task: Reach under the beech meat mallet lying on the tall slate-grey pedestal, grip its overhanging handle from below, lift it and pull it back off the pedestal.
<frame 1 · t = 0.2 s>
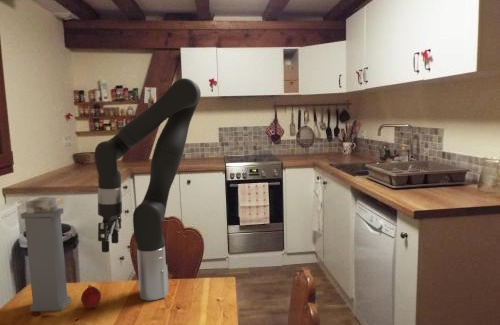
hand: (110, 247, 123), 17 cm above the table, tool pointing down, fingers open, 8 cm apart
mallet: (52, 206, 121), point 32 cm above the table, touching stand
onion: (91, 308, 118), on the table
stand: (51, 306, 120), on the table
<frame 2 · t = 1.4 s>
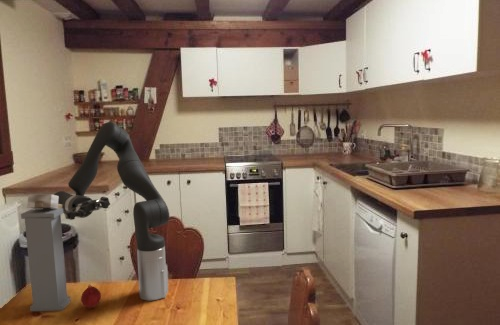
hand: (95, 209, 116), 32 cm above the table, tool horizontal, fingers open, 7 cm apart
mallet: (51, 209, 121), point 31 cm above the table, tilted 19°, touching stand
everything else where it was.
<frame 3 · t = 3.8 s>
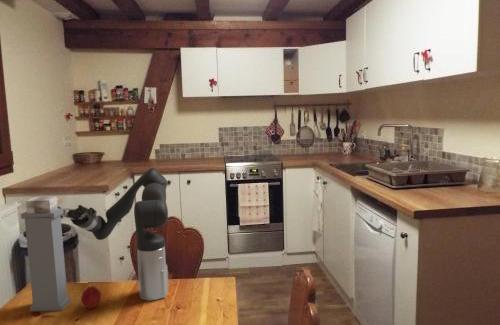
hand: (67, 207, 132), 29 cm above the table, tool pointing upward, fingers open, 8 cm apart
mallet: (51, 206, 121), point 32 cm above the table, touching stand
everything else where it was.
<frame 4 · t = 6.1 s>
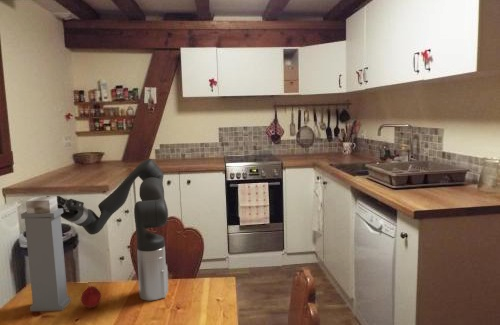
hand: (52, 198, 121), 34 cm above the table, tool pointing upward, fingers open, 3 cm apart
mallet: (51, 206, 121), point 32 cm above the table, touching gripper, stand
everything else where it was.
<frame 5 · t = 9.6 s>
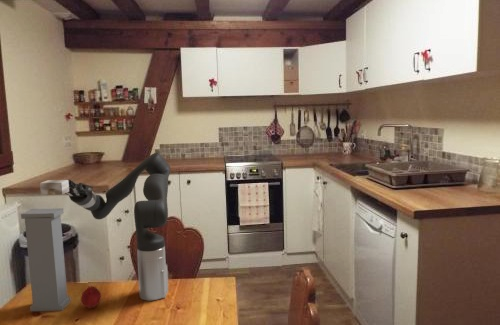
hand: (63, 182, 130), 38 cm above the table, tool pointing upward, fingers closed on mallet, 2 cm apart
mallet: (63, 189, 130), point 36 cm above the table, touching gripper
everything else where it was.
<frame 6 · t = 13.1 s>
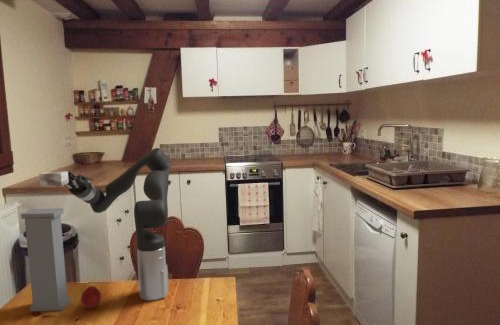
hand: (63, 174, 129), 41 cm above the table, tool pointing upward, fingers closed on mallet, 2 cm apart
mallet: (63, 181, 129), point 39 cm above the table, touching gripper
everything else where it was.
at the end: the gripper is holding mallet; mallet inside the target area (2.5 cm from its centre), point 38.9 cm above the table; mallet touching gripper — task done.
